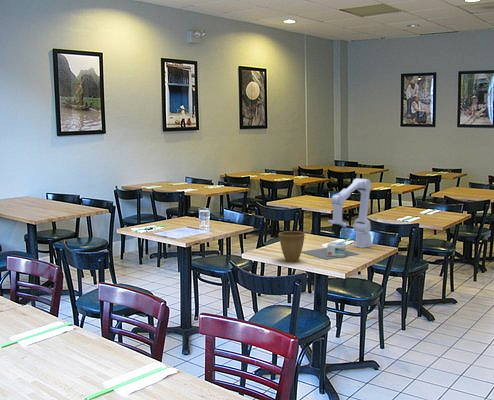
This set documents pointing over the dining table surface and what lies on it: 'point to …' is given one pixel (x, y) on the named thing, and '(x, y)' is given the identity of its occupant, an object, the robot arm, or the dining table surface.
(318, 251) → the mat
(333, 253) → the light bulb box
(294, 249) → the plant pot
